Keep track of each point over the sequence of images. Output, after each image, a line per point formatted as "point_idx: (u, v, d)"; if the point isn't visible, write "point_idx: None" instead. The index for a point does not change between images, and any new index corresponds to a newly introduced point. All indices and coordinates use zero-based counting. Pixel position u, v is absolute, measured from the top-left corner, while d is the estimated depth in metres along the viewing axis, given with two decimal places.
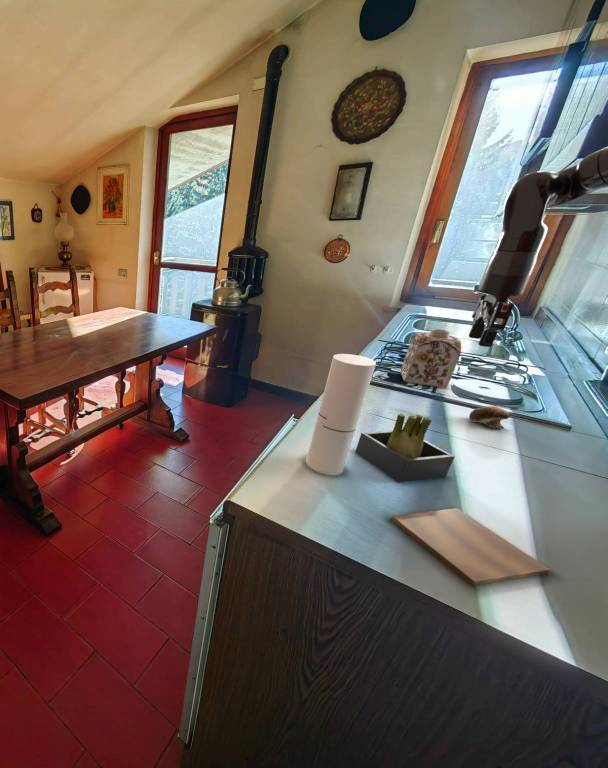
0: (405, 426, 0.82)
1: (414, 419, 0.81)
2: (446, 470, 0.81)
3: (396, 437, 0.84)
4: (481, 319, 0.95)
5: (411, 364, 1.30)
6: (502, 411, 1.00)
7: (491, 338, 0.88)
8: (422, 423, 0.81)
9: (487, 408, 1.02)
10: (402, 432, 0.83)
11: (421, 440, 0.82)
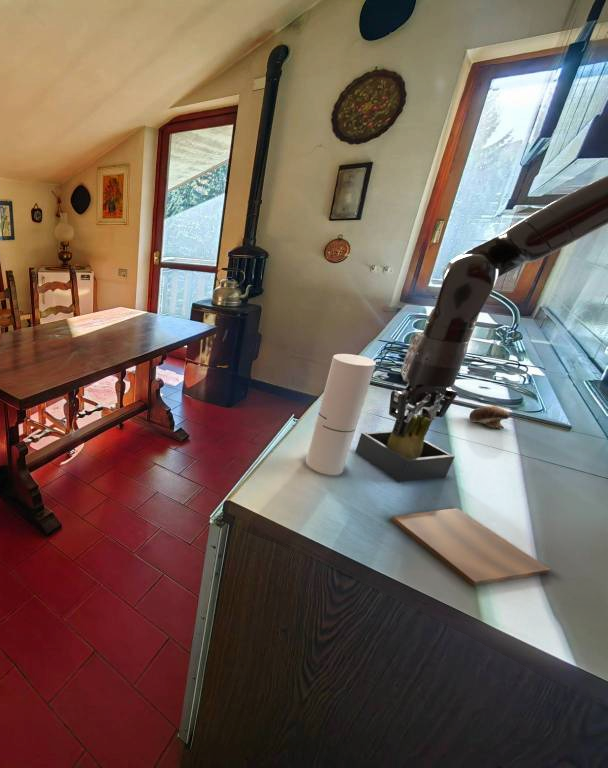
0: None
1: (414, 419, 0.81)
2: (446, 470, 0.81)
3: (395, 437, 0.84)
4: (426, 414, 0.82)
5: None
6: (502, 411, 1.00)
7: (398, 428, 0.82)
8: (422, 423, 0.81)
9: (487, 408, 1.02)
10: None
11: (421, 440, 0.82)
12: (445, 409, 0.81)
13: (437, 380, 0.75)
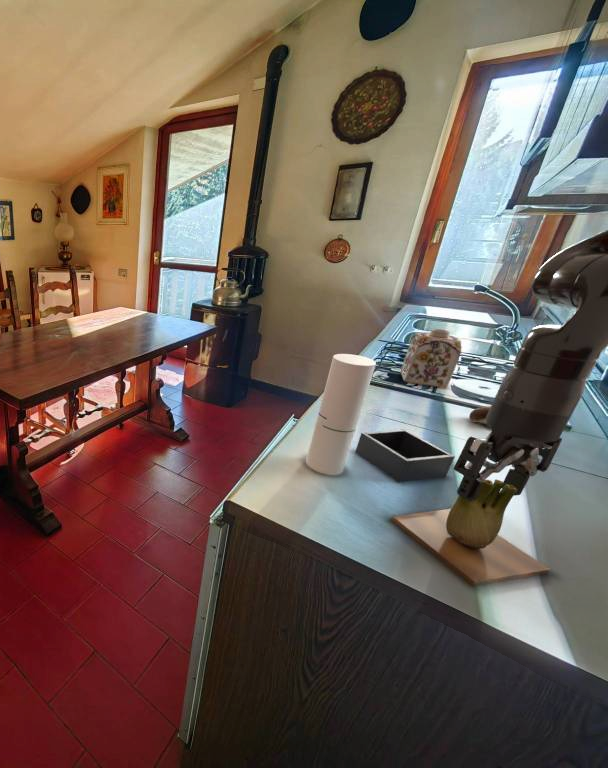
0: None
1: (490, 486, 0.59)
2: (446, 470, 0.81)
3: (462, 507, 0.62)
4: (522, 467, 0.60)
5: (411, 364, 1.30)
6: None
7: (467, 488, 0.59)
8: (503, 491, 0.59)
9: (487, 408, 1.02)
10: (472, 501, 0.61)
11: (500, 514, 0.60)
12: (548, 461, 0.58)
13: (538, 432, 0.53)
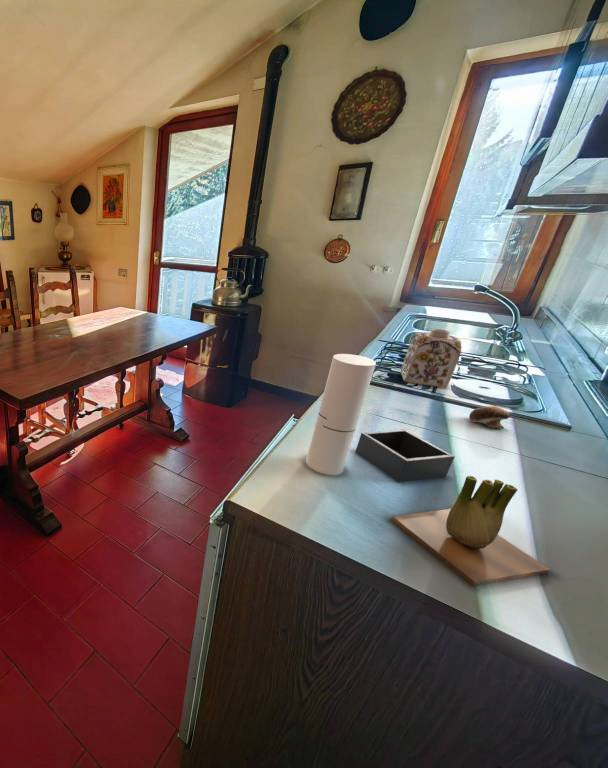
0: (477, 493, 0.61)
1: (490, 486, 0.59)
2: (446, 470, 0.81)
3: (462, 507, 0.62)
4: None
5: (411, 364, 1.30)
6: (502, 411, 1.00)
7: None
8: (503, 491, 0.59)
9: (487, 408, 1.02)
10: (472, 501, 0.61)
11: (499, 514, 0.60)
12: None
13: None
